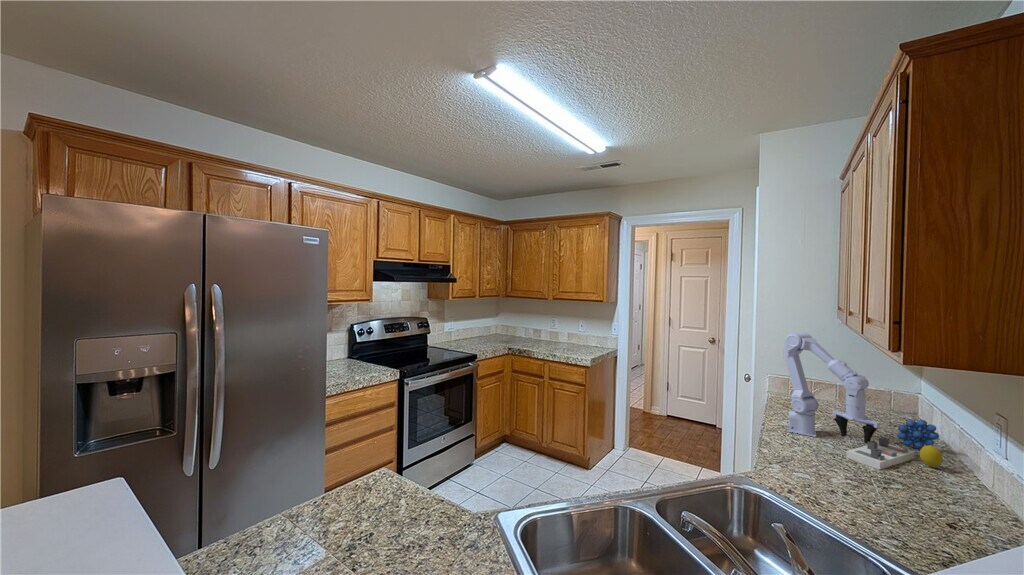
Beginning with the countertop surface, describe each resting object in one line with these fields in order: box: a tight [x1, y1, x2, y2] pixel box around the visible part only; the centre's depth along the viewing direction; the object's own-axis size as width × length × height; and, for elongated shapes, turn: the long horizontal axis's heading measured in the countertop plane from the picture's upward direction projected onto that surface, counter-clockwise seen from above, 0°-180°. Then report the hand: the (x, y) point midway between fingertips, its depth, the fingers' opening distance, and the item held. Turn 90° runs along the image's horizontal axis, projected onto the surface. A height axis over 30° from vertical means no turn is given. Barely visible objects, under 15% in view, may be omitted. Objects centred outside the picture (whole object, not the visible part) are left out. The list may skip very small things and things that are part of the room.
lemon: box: [919, 445, 944, 468], centre depth 135 cm, size 6×6×8 cm
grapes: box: [896, 419, 940, 450], centre depth 151 cm, size 12×7×12 cm, turn 50°
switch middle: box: [866, 440, 879, 449], centre depth 145 cm, size 2×2×3 cm
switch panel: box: [846, 441, 915, 470], centre depth 143 cm, size 23×10×4 cm, turn 112°
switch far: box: [878, 436, 890, 446], centre depth 148 cm, size 2×2×3 cm
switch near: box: [871, 449, 881, 459], centre depth 137 cm, size 2×2×3 cm
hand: (855, 439), depth 150 cm, fingers open, 7 cm apart
